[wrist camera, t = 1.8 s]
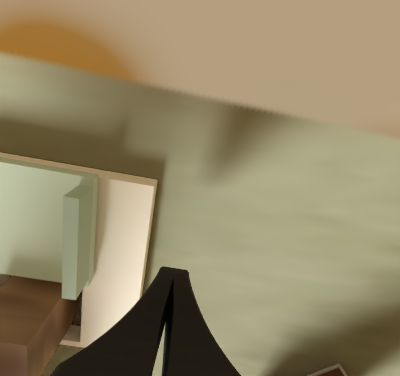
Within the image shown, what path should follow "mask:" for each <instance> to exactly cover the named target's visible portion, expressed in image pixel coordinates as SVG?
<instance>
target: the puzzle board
mask: <svg viewBox="0 0 400 376" xmlns="http://www.w3.org/2000/svg"><path fill="white" fill-rule="evenodd" d="M0 157H3V158H9V159H15V160H20V161H26V162H32V163H38V164H43V165H49V166H55V167H61V168H66V169H72V170H78V171H84V172H89V173H95V174H99V185H98V202H97V219H96V236H95V253H94V271H93V279H92V281H91V283H90V284H89V286H88V287H87V286H84V288H83V291H82V314H81V326H77V325H70V327H69V328H68V330H67V332H66V334H65V335H64V337H63V339H62V340H61V342H60V344H61V345H68V346H76V347H83V348H86V347H87V346H88V345H90V344H91V343H92V342H94V341H95V340H96V339H98V338H99V337H100V336H102V335H103V334H104V333H105V332H107V331H108V330H109V329H110V328H111V327H113V326H114V325H115V324H116V323H117V322H118V321H119V320H120V319H121V318H122V317H123V316H124V315H125V314H126V313H127V312H128V311H129V310H130V309H131V308H132V307H133V306H134V305H135V304H136V303H137V301H138V300H139V299H140V298H141V297H142V292H143V285H144V277H145V270H146V263H147V255H148V248H149V241H150V233H151V226H152V219H153V211H154V204H155V197H156V189H157V182H158V180H156V179H151V178H145V177H139V176H134V175H128V174H122V173H116V172H111V171H105V170H99V169H93V168H88V167H82V166H76V165H70V164H65V163H59V162H53V161H48V160H42V159H36V158H30V157H25V156H19V155H13V154H7V153H2V152H0ZM9 279H10V275H7V274H0V287H1V286H2V285H3V284H4V283H6V282H7V281H8V280H9Z"/></svg>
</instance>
